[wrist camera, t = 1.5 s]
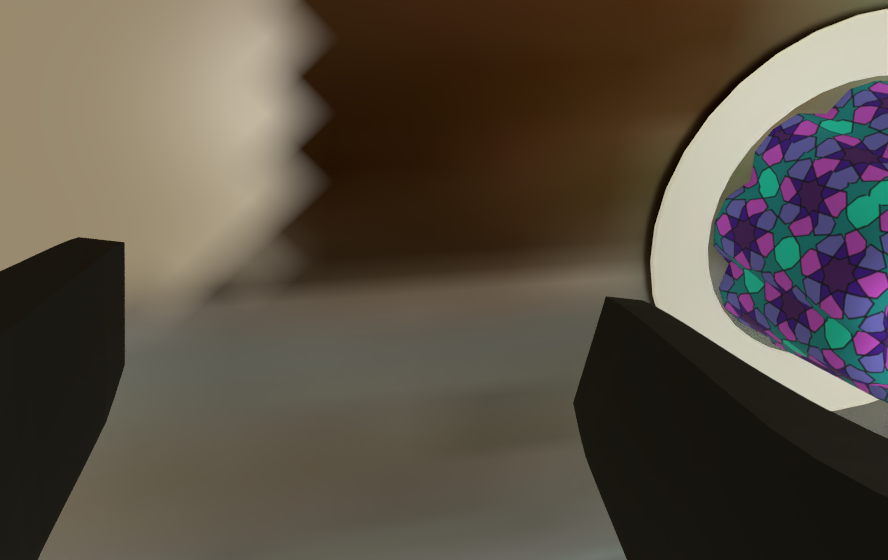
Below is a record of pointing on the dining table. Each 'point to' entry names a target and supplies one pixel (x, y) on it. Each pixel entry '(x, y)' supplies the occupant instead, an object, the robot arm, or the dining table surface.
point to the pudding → (791, 220)
